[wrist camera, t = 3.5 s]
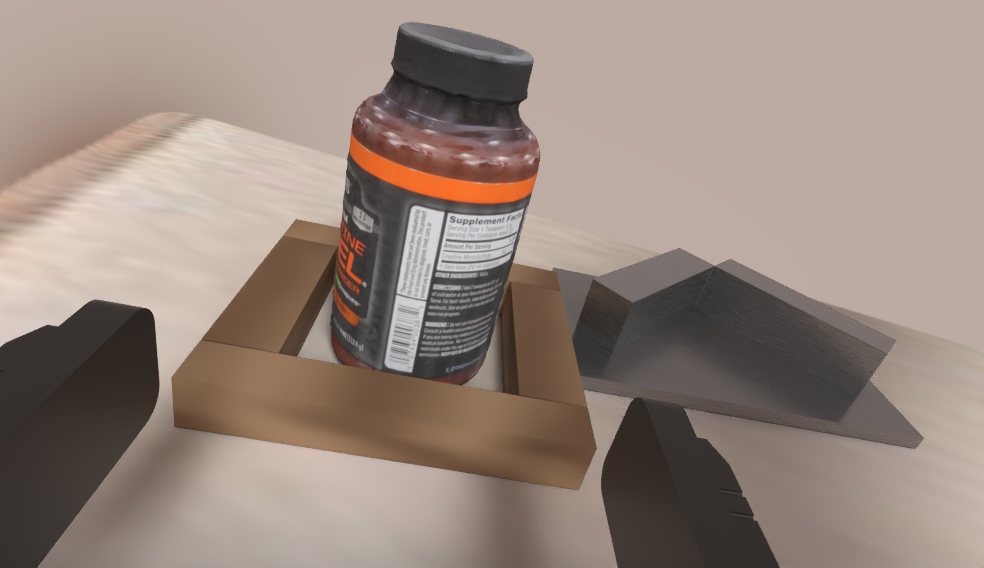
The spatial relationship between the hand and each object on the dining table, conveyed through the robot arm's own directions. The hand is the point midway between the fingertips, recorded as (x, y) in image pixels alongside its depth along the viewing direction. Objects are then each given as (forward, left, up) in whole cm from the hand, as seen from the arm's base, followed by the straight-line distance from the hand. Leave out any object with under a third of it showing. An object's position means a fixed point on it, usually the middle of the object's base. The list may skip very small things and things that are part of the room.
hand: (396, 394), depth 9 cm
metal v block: (-14, -14, -6) cm, 21 cm away
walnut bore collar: (0, -10, -7) cm, 12 cm away
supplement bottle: (0, -10, -7) cm, 12 cm away
